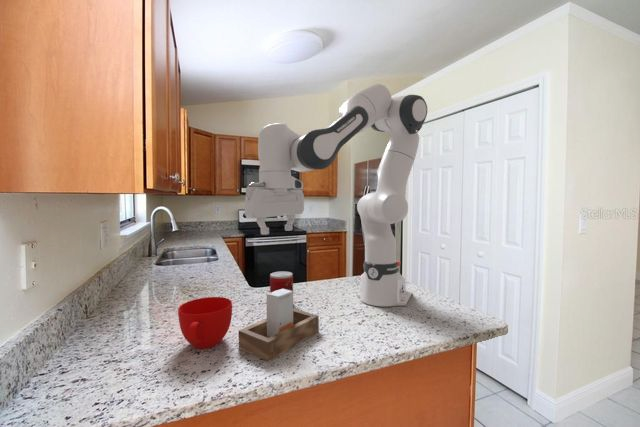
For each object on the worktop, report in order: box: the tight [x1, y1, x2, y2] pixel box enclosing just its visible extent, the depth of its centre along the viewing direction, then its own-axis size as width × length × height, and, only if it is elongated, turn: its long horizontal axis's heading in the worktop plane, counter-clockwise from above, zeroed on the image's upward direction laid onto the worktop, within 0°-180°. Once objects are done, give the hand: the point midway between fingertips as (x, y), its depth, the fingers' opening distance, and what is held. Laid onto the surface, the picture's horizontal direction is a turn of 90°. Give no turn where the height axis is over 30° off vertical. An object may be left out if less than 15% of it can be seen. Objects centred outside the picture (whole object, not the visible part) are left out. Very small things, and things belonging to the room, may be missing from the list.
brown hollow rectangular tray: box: [237, 308, 320, 363], centre depth 79 cm, size 19×10×4 cm, turn 143°
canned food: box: [269, 270, 294, 293], centre depth 104 cm, size 8×8×11 cm
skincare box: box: [266, 289, 294, 338], centre depth 79 cm, size 6×4×12 cm
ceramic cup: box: [177, 296, 233, 350], centre depth 75 cm, size 13×17×10 cm
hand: (277, 232), depth 84 cm, fingers open, 8 cm apart
